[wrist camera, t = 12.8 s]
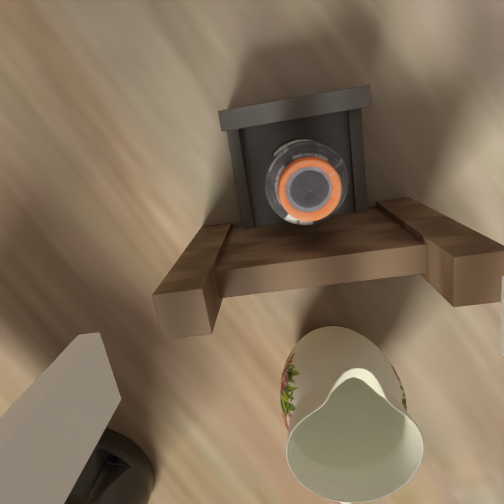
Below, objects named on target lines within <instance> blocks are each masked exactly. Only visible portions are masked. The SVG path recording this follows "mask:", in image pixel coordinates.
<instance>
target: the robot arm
mask: <svg viewBox="0 0 504 504" xmlns="http://www.w3.org/2000/svg"><path fill="white" fill-rule="evenodd" d="M500 353H501V354H502V355H503V356H504V276H502V290H501V328H500ZM120 401H121V396H120V393H119V390H118V387H117V384H116V381H115V378H114V375H113V372H112V369H111V366H110V363H109V360H108V357H107V353H106V350H105V347H104V344H103V341H102V338H101V335H100V332H96V333H89V334H82V335H78V336H77V337H76V338H75V339H74V340H73V341H72V342H71V343H70V344H69V345H68V346H67V347H66V349H65V350H64V351H63V352H62V353H61V354H60V355H59V356H58V357H57V358H56V359H55V360H54V361H53V362H52V363H51V365H50V366H49V367H48V368H47V369H46V370H45V371H44V372H43V373H42V374H41V375H40V376H39V377H38V378H37V380H36V381H35V382H34V383H33V384H32V385H31V386H30V387H29V388H28V389H27V390H26V391H25V392H24V393H23V394H22V396H21V397H20V398H19V399H18V400H17V401H16V402H15V403H14V404H13V405H12V406H11V407H10V408H9V409H8V410H7V412H6V413H5V414H4V415H3V416H2V417H1V418H0V504H148V502H149V499H150V496H151V493H152V490H153V486H154V474H153V470H152V467H151V465H150V462H149V461H148V459H147V457H146V456H145V455H144V453H143V452H142V451H141V450H140V449H139V448H138V447H137V446H136V445H135V444H134V443H132V442H131V441H130V440H128V439H127V438H125V437H123V436H121V435H119V434H117V433H115V432H112V431H110V430H106V429H105V428H106V426H107V425H108V423H109V421H110V419H111V417H112V415H113V414H114V412H115V410H116V408H117V406H118V404H119V403H120Z"/></svg>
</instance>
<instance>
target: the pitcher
mask: <svg viewBox="0 0 504 504" xmlns="http://www.w3.org/2000/svg"><path fill="white" fill-rule="evenodd" d="M280 402H281V409H282V415H283V418H284V422H285V425H286V427H287V430H288V432H289V434H288V438H287V443H286V457H287V462H288V465H289V468H290V470H291V472H292V473H293V475H294V476H295V478H296V479H297V480H298V481H299V482H300V483H301V484H302V485H303V486H304V487H305V488H307V489H308V490H310V491H311V492H313V493H315V494H317V495H319V496H321V497H324V498H326V499H330V500H334V501H339V502H340V503H341V504H352V503H359V502H368V501H373V500H377V499H380V498H383V497H386V496H388V495H390V494H392V493H394V492H396V491H397V490H399V489H401V488H402V487H403V486H404V485H406V484H407V483H408V482H409V481H410V480H411V479H412V478H413V476H414V475H415V474H416V472H417V471H418V469H419V467H420V465H421V462H422V459H423V455H424V441H423V437H422V434H421V431H420V430H419V428H418V426H417V424H416V423H415V421H414V420H413V419H412V418H411V417H410V415H409V414H408V413H407V407H406V399H405V394H404V390H403V387H402V384H401V382H400V379H399V377H398V375H397V373H396V371H395V369H394V368H393V366H392V364H391V363H390V361H389V360H388V359H387V357H386V356H385V355H384V354H383V352H382V351H381V350H380V349H379V348H378V347H377V346H376V345H375V344H374V343H372V342H371V341H370V340H368V339H367V338H366V337H364V336H363V335H361V334H359V333H357V332H356V331H353V330H351V329H348V328H344V327H338V326H327V327H321V328H318V329H315V330H313V331H311V332H309V333H308V334H306V335H305V336H304V337H303V338H301V339H300V340H299V341H298V342H297V344H296V345H295V347H294V348H293V349H292V351H291V353H290V355H289V357H288V359H287V361H286V364H285V367H284V369H283V374H282V379H281V387H280Z"/></svg>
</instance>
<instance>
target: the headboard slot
mask: <svg viewBox="0 0 504 504" xmlns="http://www.w3.org/2000/svg"><path fill="white" fill-rule="evenodd" d="M370 106H371V101H370V85H366V86H360V87H354V88H349V89H343V90H337V91H331V92H326V93H320V94H314V95H308V96H302V97H297V98H291V99H285V100H279V101H274V102H268V103H262V104H256V105H251V106H245V107H239V108H233V109H228V110H222V111H218V114H219V119H220V125H221V131H227V135H228V140H229V146H230V152H231V158H232V164H233V170H234V176H235V182H236V187H237V193H238V199H239V205H240V211H241V217H242V223H243V226H240V227H233V228H232V223H226V224H219V225H212V226H204V227H201V229H200V230H199V231H198V233H197V234H196V236H195V237H194V238H193V240H192V241H191V242H190V244H189V245H188V247H187V248H186V249H185V251H184V252H183V253H182V255H181V256H180V258H179V259H178V260H177V262H176V263H175V264H174V266H173V267H172V269H171V270H170V271H169V273H168V274H167V275H166V277H165V278H164V280H163V281H162V282H161V284H160V285H159V286H158V288H157V289H156V291H155V292H154V293H153V295H152V296H153V300H154V304H155V308H156V312H157V315H158V319H159V323H160V327H161V331H162V335H163V338H164V340H165V339H174V338H183V337H192V336H201V335H210V334H212V332H213V328H214V325H215V322H216V318H217V315H218V312H219V308H220V305H221V302H222V298H225V297H233V296H241V295H250V294H258V293H266V292H274V291H282V290H291V289H299V288H307V287H315V286H323V285H332V284H340V283H348V282H356V281H364V280H373V279H381V278H389V277H397V276H405V275H414V274H421V275H422V276H423V277H424V278H425V279H426V280H427V281H428V282H429V283H430V284H431V285H432V286H433V287H434V288H435V289H436V290H437V291H438V292H439V293H440V294H441V295H442V296H443V297H444V298H445V299H446V300H447V301H448V302H449V303H450V304H451V305H452V306H453V307H459V306H468V305H477V304H486V303H495V302H501V290H502V276H504V246H503V245H501V244H499V243H498V242H496V241H494V240H492V239H490V238H488V237H486V236H484V235H482V234H480V233H478V232H476V231H474V230H472V229H470V228H468V227H466V226H464V225H462V224H460V223H458V222H457V221H455V220H453V219H451V218H449V217H447V216H445V215H443V214H441V213H439V212H437V211H435V210H433V209H431V208H429V207H427V206H425V205H423V204H421V203H419V202H417V201H415V200H414V199H412V198H410V197H408V198H401V199H394V200H387V201H380V202H377V207H375V208H368V209H367V199H366V184H365V169H364V153H363V138H362V122H361V108H365V107H370ZM298 138H303V139H309V140H313V141H317V142H320V143H323V144H325V145H327V146H329V147H331V148H332V149H334V150H335V151H336V152H337V153H338V154H339V155H340V156H341V158H342V159H343V161H344V163H345V165H346V168H347V171H348V177H349V186H348V192H347V195H346V198H345V200H344V202H343V204H342V205H341V207H340V208H339V209H338V211H337V212H336V213H335V214H334V215H332V216H331V217H330V218H328V219H327V220H325V221H323V222H320V223H317V224H314V225H297V224H293V223H290V222H288V221H286V220H284V219H282V218H281V217H280V216H278V215H277V214H276V213H275V212H274V211H273V209H272V208H271V206H270V205H269V203H268V200H267V197H266V194H265V187H264V182H265V171H266V166H267V162H268V160H269V158H270V156H271V154H272V153H273V152H274V150H275V149H276V148H277V147H278V146H280V145H281V144H282V143H284V142H286V141H288V140H292V139H298Z"/></svg>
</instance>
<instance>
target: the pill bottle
mask: <svg viewBox="0 0 504 504" xmlns="http://www.w3.org/2000/svg"><path fill="white" fill-rule="evenodd" d="M348 186H349V177H348V171H347V168H346V165H345V163H344V161H343V159H342V158H341V156H340V155H339V154H338V153H337V152H336V151H335V150H334V149H332V148H331V147H329V146H327V145H325V144H323V143H320V142H317V141H313V140H309V139H303V138H298V139H292V140H288V141H286V142H284V143H282V144H281V145H280V146H278V147H277V148H276V149H275V150H274V152H273V153H272V154H271V156H270V158H269V160H268V162H267V166H266V171H265V182H264V187H265V194H266V197H267V200H268V203H269V205H270V206H271V208H272V209H273V211H274V212H275V213H276V214H277V215H278V216H280V217H281V218H282V219H284V220H286V221H288V222H290V223H293V224H297V225H314V224H317V223H320V222H323V221H325V220H327V219H328V218H330V217H331V216H332V215H334V214H335V213H336V212H337V211H338V209H339V208H340V207H341V205H342V204H343V202H344V200H345V198H346V195H347V192H348Z"/></svg>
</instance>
